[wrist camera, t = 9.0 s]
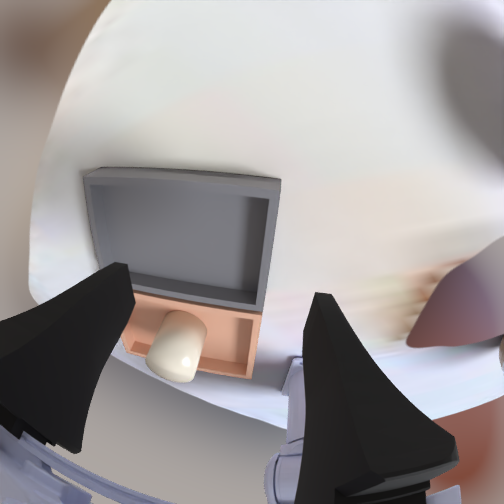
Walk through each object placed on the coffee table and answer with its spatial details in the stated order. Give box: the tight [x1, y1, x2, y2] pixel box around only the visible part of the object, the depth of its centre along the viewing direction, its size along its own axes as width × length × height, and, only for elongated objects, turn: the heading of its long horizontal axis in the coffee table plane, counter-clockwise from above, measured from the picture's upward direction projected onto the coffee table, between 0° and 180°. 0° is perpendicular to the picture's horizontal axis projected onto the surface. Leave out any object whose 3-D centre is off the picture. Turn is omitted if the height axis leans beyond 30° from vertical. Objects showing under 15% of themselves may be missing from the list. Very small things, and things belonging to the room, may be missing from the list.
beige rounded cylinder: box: [145, 311, 207, 383], centre depth 23 cm, size 4×4×5 cm
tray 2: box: [121, 289, 262, 379], centre depth 25 cm, size 14×10×2 cm
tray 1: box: [83, 167, 281, 312], centre depth 20 cm, size 14×10×2 cm
